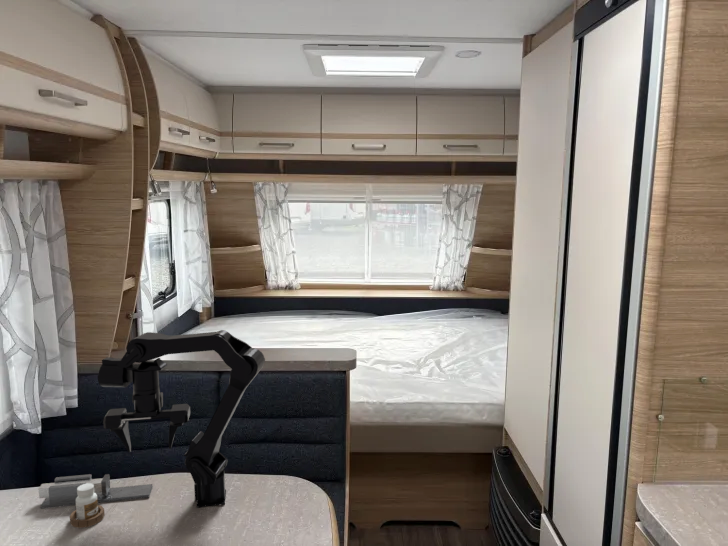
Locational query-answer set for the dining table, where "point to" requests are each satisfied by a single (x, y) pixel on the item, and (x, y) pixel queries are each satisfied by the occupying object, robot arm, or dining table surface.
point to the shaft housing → (68, 493)
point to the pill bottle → (86, 502)
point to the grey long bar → (99, 484)
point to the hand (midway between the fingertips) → (150, 450)
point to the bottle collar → (87, 522)
